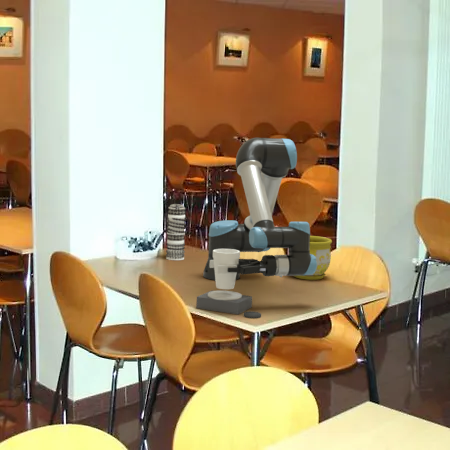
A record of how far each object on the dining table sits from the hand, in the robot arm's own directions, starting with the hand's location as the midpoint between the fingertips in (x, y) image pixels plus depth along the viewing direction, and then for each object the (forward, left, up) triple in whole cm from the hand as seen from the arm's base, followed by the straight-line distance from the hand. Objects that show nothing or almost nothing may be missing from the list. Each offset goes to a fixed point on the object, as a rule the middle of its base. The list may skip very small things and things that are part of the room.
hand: (213, 266), depth 287 cm
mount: (+3, +3, -15) cm, 16 cm away
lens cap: (+16, -2, -15) cm, 22 cm away
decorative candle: (-55, +73, -15) cm, 92 cm away
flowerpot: (+10, +72, -15) cm, 74 cm away
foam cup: (+3, +3, -8) cm, 9 cm away
